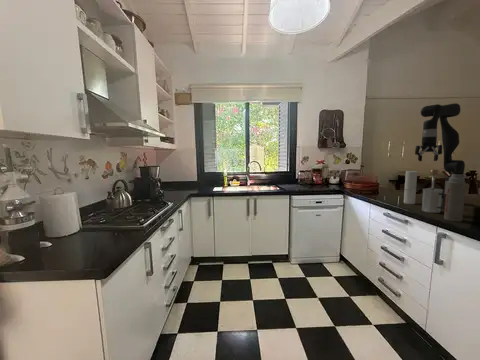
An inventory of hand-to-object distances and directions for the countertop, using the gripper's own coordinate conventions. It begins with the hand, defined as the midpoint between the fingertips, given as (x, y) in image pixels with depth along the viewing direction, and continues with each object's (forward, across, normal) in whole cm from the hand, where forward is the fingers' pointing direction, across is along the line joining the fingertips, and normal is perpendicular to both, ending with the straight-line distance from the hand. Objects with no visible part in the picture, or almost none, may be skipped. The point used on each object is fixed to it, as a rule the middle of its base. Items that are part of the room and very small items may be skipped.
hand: (427, 161), depth 152 cm
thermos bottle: (+34, -5, +21) cm, 40 cm away
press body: (+34, -4, +2) cm, 34 cm away
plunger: (+24, -3, +1) cm, 24 cm away
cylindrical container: (+34, -1, -24) cm, 42 cm away
